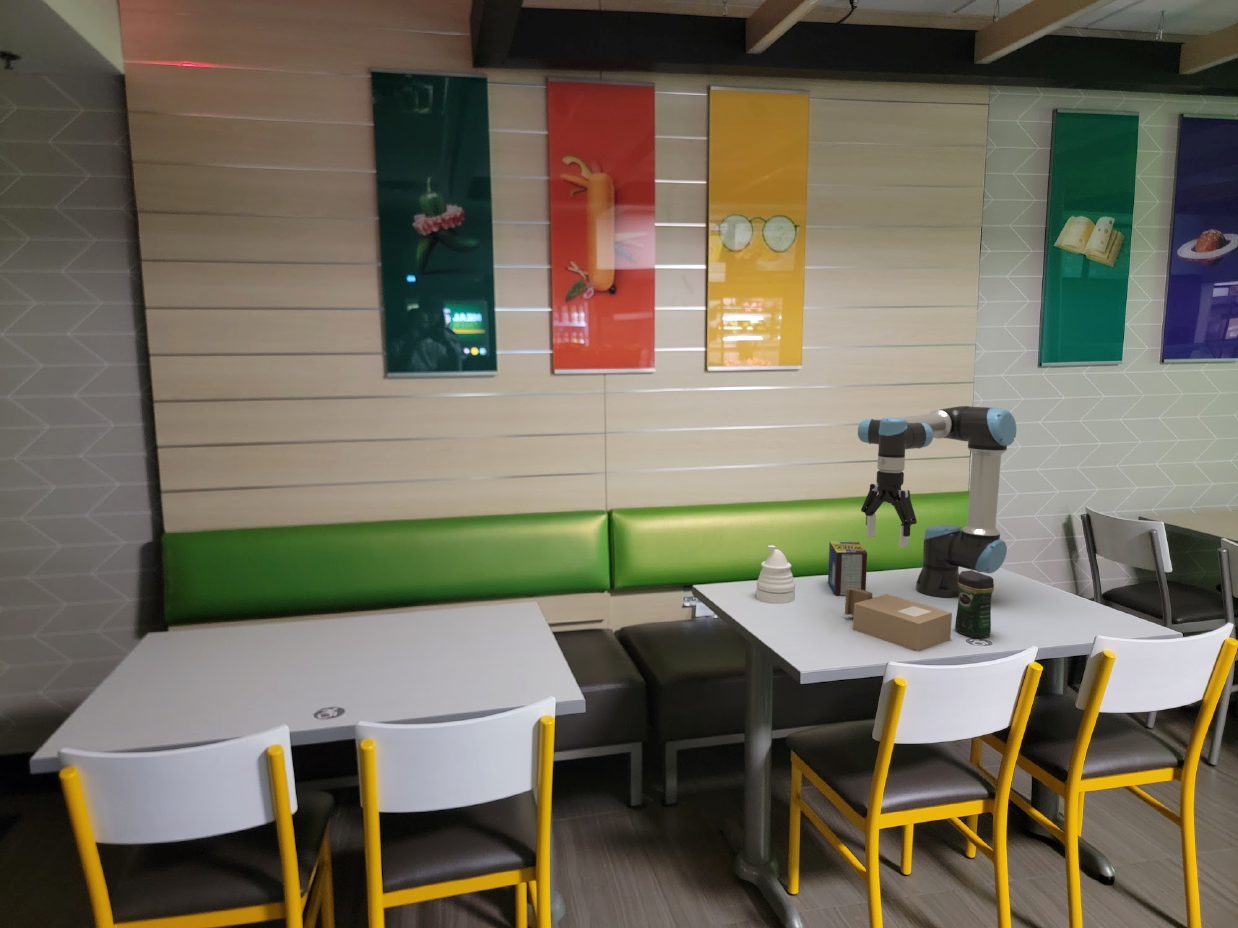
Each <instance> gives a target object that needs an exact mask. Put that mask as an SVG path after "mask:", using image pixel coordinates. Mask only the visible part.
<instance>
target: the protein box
mask: <svg viewBox="0 0 1238 928" xmlns="http://www.w3.org/2000/svg"><path fill="white" fill-rule="evenodd" d="M828 547H829V548H828V550H829V551H828V571H827V572H828V574H827V575H828V577H827V584H828V585H829V587H830V589H831V591H832V593H833V595H834V597H835V596H837V597H838V596H839V597H840V596H841V597H846V589H850V588H853V587H859V589H861V590H864V591H867V590H866V589H867V588H866V587H867V573H868V572H867V570H868V566H867V565H868V552H867V550H866V549H865V548H864V547H863V545H862V544H861V543H860V542H858V541H832V540H831V541H829V546H828Z"/></svg>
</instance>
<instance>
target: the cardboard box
mask: <svg viewBox="0 0 1238 928" xmlns="http://www.w3.org/2000/svg"><path fill="white" fill-rule="evenodd" d="M952 618H953V612H951V611H946V610H944V609H940V608H937V607H933V606H929V605H926V604H923V603H920V602H915V601H912V600H909V599H906V598H905V599H904V598H902V597H898V596H895V595H892V594H888V593H886V594H883V595H880V596H876V597H872V598H871V599H868V600H864V601H861V602H858V603H854V615H853V621H852V623H853V624H852V630H854V631H857V632H861V633H863V634H865V635H869V636H872V637H874V638H875V637H876V638H878V639H880V640H884V641H887V642H890V643H893V644H896V645H898V646H901V647H905V648H907V649H909V650H913V651H916V652H919V651H922V650H925V649H928V648H931V647H934V646H937V645H938V644H941V643H944V642H947V641H950V640H951V635H952V633H951V631H952Z"/></svg>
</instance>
